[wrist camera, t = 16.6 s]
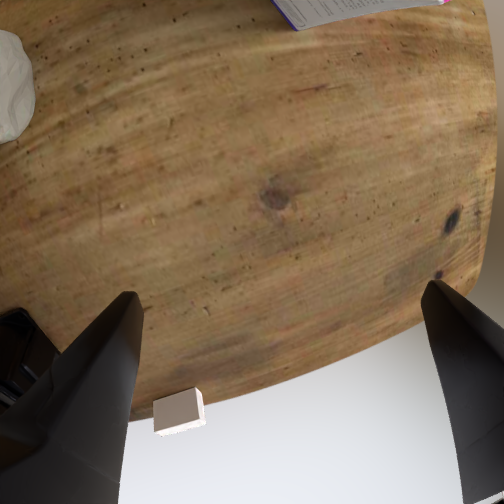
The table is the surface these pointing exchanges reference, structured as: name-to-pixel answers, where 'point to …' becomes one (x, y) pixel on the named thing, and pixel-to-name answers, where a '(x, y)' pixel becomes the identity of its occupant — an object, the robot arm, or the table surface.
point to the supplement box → (338, 9)
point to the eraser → (178, 412)
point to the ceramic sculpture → (14, 88)
